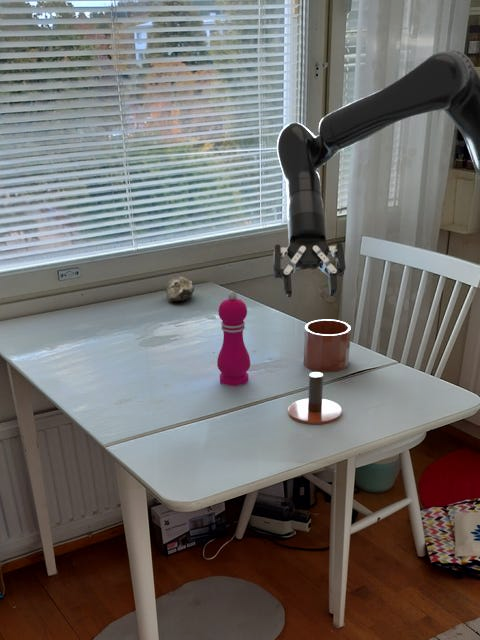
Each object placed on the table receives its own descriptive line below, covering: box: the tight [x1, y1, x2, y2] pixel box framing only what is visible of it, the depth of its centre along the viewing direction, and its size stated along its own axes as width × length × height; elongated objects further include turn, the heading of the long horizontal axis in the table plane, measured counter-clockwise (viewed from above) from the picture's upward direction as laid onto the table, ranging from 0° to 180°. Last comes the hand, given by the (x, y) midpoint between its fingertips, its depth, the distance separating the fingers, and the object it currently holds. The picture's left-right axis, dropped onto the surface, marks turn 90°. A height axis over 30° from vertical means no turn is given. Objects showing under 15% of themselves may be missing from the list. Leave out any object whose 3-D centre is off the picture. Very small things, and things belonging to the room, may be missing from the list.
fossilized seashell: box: [164, 276, 195, 302], centre depth 218 cm, size 8×7×10 cm
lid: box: [287, 371, 343, 425], centre depth 156 cm, size 11×11×9 cm
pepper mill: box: [216, 290, 251, 387], centre depth 167 cm, size 7×7×20 cm
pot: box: [303, 319, 352, 373], centre depth 178 cm, size 10×10×8 cm
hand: (311, 294), depth 156 cm, fingers open, 8 cm apart
